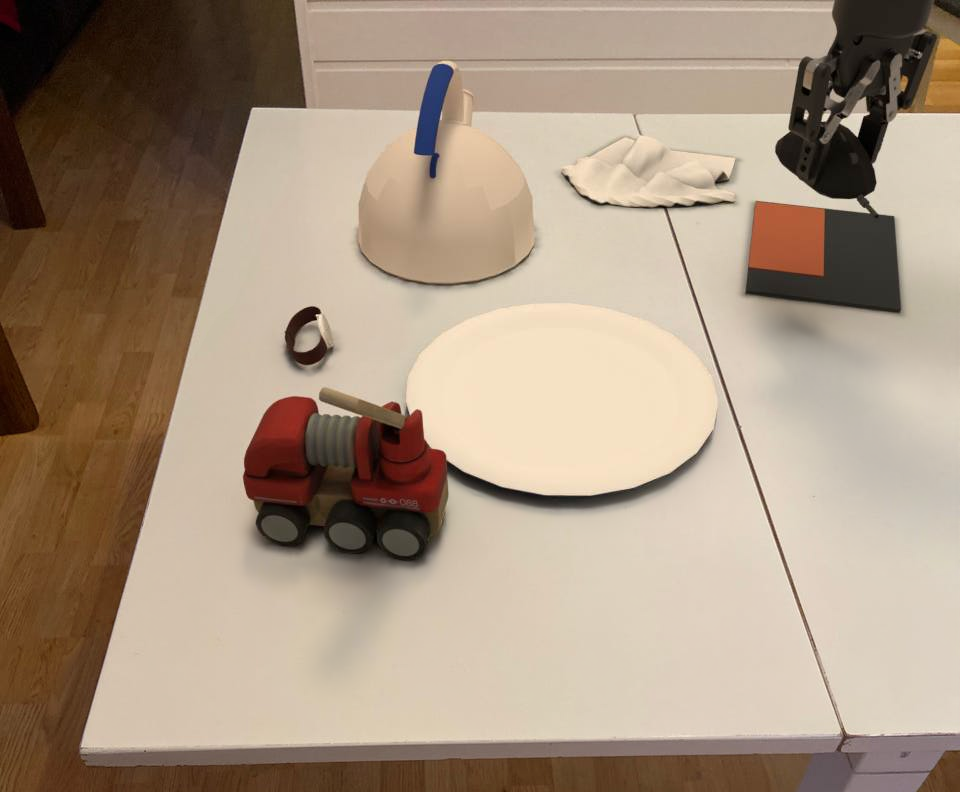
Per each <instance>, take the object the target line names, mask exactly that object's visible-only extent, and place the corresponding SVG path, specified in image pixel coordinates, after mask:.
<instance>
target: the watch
mask: <svg viewBox="0 0 960 792" xmlns="http://www.w3.org/2000/svg"><path fill="white" fill-rule="evenodd" d="M315 321H316V322H317V326H318V327H317V328H318V331H319V333H320V339H319V342H318V343H317V344H316V345H315V347H313V348H312V349H309V350H306V351H296V350H295V347H294V346H295V343H296V336H297V335H298V333H299V331H300V330H301V329H302V328H303V327H305V326H306V325H307V324H310V323H312V322H315ZM284 341H285V344H286V345H287V347H288V349H289V351H290V354H291V355H292V357H293V359H294V361H295V362H296V363H297V364H300V365H301V366H312V365H315V364H317V363H320V362H321V360H323V359H324V358H325V356H326V354H327V352H328V350H329V349H331V348H332V347H334V345H335V343H334V337H333V333H332V329H331V326H330V324H329V322H328V320H327V318H326V316H325V314H323V313H322V311H321V308H319V307H318V306H315V305H311V306H306V307H304V308H302V309H301V310H299V311H298V312H296V313H295V314H294V315H292V317H291V318H290V320H289V321H288V323H287V326H286V329H285V331H284Z"/></svg>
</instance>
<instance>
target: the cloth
mask: <svg viewBox="0 0 960 792" xmlns="http://www.w3.org/2000/svg"><path fill="white" fill-rule="evenodd" d="M735 162H736V157H730V156H722V155H714V154H705V153H697V152H690V151H689V152H688V151H680V150H673V149H672V150H671V149H670V148H669V147H667V146H666V145H665V144H663V143H662V142H660V140H658V139H655V138H654V137H650V136H645V135H640V134H639V135H637V137H636V138H635V140H634V139H631V138H629V137H626V136H625V137H622V138H621V139H619V140H617V141H615V142H614V143H611V144H610V145H608V146H606V147H605V148H603V149H601V150H599V151H597V152H595V153H594V154H592V155H591V156H585V157H581V158H579V159H577V160H576V162H575V165H572V164H568V165H564V166H563V167H561V168H560V170H561V172H562V175H563V177H565V178H567V180H568V181H569V183H570V184H571V185H573V187H574V189H576V191H577V193H578V194H579V195H581V196H585V197H587V198H589V199H590V200H591V201H593V202H594V203H597V204H605V203H607V204H609V205H613V206H623V207H628V208H629V207H630V208H631V207H633V208H637V207H645V208H656V207H665V208H669V207H670V208H671V207H677V206H686V207H690V206H691V207H692V206H696V205H702V204H703V205H704V204H713V205H714V204H717V203H721V202H733V203H734V200H735V197H736V194H735V193H734V192H731V191H730V190H728V189H719V188H717V186H716V182H723V181H727V180H730V178H731V176H732V172H733V169H734V166H735Z"/></svg>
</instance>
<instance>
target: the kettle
mask: <svg viewBox="0 0 960 792" xmlns="http://www.w3.org/2000/svg"><path fill="white" fill-rule="evenodd" d="M463 82H464V81H463V77H462V73H461V70H460V69H459V67H458V65H457V64H456V63H455V62H453V61H450V60H442V61H439V62H438V63H436V64H435V65H433V67H432V68H431V70H430V73H429V75H428V78H427V81H426V84H425V88H424V91H423V95H422V100H421V104H420V109H419V114H418V119H417V126H416V127H415V128H413V129H410V130H408V131H406V132H405V133H403V134H402V135H400V136H399V137H398V138H396V139H395V140H394V141H392V142H391V143H390V144H389V145H387V146H386V147H385V149H384V150H383V151H382V152H381V153H380V154H379V156H378V158H377V159H376V160H375V162H374V163H373V164H372V165H371V167H370V168H369V169H368V171H367V174H366V177H365V180H364V183H363V185H362V189H361V192H360V196H359V200H358V235H357V240H358V244H359V248H360V251H361V252H362V254H364V256H365V257H366V258H367V259H368V261H369V262H371V263H372V264H373V265H374V266H376V267H378V268H379V269H381V270H382V271H384V272H386V273H388V274H390V275H393V276H396V277H398V278H401V279H404V280H408V281H413V282H418V283H423V284H434V285H435V284H437V285H456V284H464V283H465V284H467V283H472V282H478V281H482V280H485V279H489V278H493V277H496V276H498V275H501V274H502V273H504V272H506V271H509V270H511V269H512V268H514V267H515V266H516V265H518V264H519V263H520V262H521V261H522V260H524V259H525V258H526V257H527V256H528V255H529V253H530V252H531V250H532V248H533V247H534V245H535V241H536V240H535V239H536V238H535V237H536V231H535V226H534V225H535V224H534V206H533V195H532V192H531V189H530V187H529V185H528V184H529V183H528V182H527V179H526V177H525V174H524V171H522V169H521V167H520V165H519V164H518V163H517V161H516V160H515V158H513V156H512V154H510V152H509V151H508V150H507V148H505V147H504V146H503V145H502V144H501V143H499V142H498V141H497V140H495V139H494V138H492V137H491V136H489V135H488V134H487V133H485V132H484V131H481V130H480V129H478V128H475V127H473V126H472V124H473V123H472V120H473V111H474V104H476V98H475V95H474V94H473V93H472V92H471V91H470V90H467V89H465V88H464V83H463Z"/></svg>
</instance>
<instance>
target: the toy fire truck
mask: <svg viewBox="0 0 960 792" xmlns="http://www.w3.org/2000/svg"><path fill="white" fill-rule="evenodd" d="M318 400H319V401H320V402H321V403H324V404H328V405H330V406H333V407H335V408H338V409H341V410H343V411H347V412H350V413H353V414H356V415H355V416H352V417H351V416H350V415H347V414H346V415H343V416H341V415H340V414H333V415H331V414H328V413H324V414H322V415H321V414H320V412H319V411H320V410H319V407H318V403H317V401H316V400H315V399H314V398H312V397H308V396H307V397H306V396H298V395H296V396H295V395H293V396H287V397H284V398H280V399H278V400H276V401H274V402H273V403H272V404H271V405H270V406H268V408H267V409H266V410H265V411H264V412H263V415H262V417H261V419H260V421H259V423H258V425H257V428H256V429H255V432H254V434H253V436H252V438H251V440H250V442H249V444H248V446H247V448H246V450H245V453H244V457H243V467H244V471H243V475H242V481H243V486H244V491H245V495H246V497H247V498H248V499H249V500H251V501H252V502H253V504H254V508H255V510H256V512H257V513H258V514H257V516H256V519H255V525H256V528H257V530H258V532H259V534H260V535H261V536H262V537H264V539H266V540H268V541H269V542H271V543H273V544H276V545H278V546H284V547H291V546H292V547H293V546H295V545H298V544H299V543H300V542H302V541H303V540H304V538H305V535H306V533H307V530H308V527H309V525H310V526H319V527H323V534H324V538H325V539H326V542H328V543H329V544H330V545H331V546H332V547H333V548H335V549H337V550H338V551H340V552H343V553H347V554H361V553H363V552H366V551H368V549H370V548H371V547H372V545H373V543H374V540H375V536H376V540H377V544H378V545H379V548H381V550H382V551H383V552H384V553H385V554H386V555H388V556H390V557H392V558H395V559H397V560H404V561H412V560H415V559H417V558H420V557H421V556H422V555H424V553H425V551H426V548H427V545H428V543H429V538H430V537H433V536H435V535H437V534H438V533H439V532H440V529H441V526H442V522H443V518H444V515H445V512H446V508H447V503H448V499H449V479H448V476H447V475H448V462H447V460H446V454H445V452H444V451H442V450H438V449H431V448H430V447H429V446H428V443H427V442H426V440H425V439H424V430H423V417H422V412H421V410H418V409H416V410H415V411H414V412H413V413H412V414H411V415H410V414H409V415H404V414H402V409H401V404H400V403H398V402H396V401H389V402H387V403H385V404H383V405H382V406H381V405H378V404H375V403H372V402H370V401H366V400H364V399H361V398H358V397H355V396H352V395H349V394H347V393H344V392H341V391H338V390H335V389H332V388H330V387H327V386H326V387H325V386H323V387H322V388H321V389H320V391H319V394H318Z"/></svg>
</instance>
